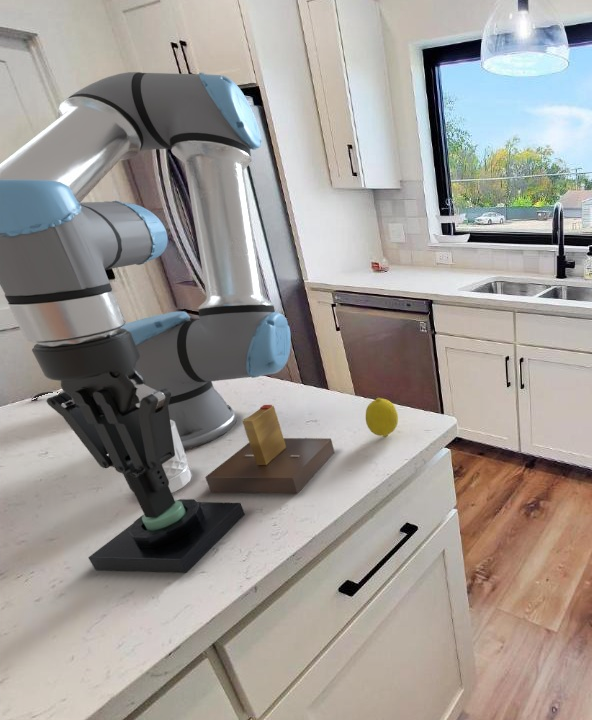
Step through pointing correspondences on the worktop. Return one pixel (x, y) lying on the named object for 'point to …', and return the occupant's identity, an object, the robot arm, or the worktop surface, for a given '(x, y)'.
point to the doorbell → (169, 540)
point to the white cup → (177, 464)
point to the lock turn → (264, 434)
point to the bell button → (165, 517)
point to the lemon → (381, 417)
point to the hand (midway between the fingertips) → (160, 509)
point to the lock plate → (272, 468)
